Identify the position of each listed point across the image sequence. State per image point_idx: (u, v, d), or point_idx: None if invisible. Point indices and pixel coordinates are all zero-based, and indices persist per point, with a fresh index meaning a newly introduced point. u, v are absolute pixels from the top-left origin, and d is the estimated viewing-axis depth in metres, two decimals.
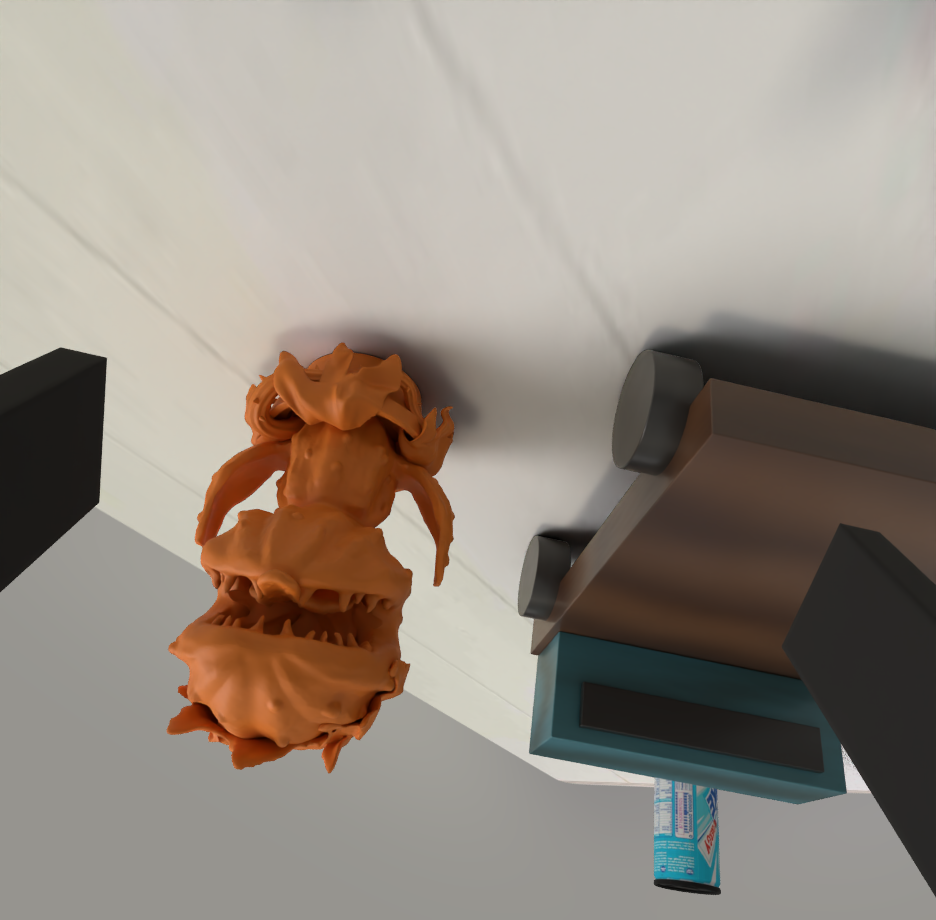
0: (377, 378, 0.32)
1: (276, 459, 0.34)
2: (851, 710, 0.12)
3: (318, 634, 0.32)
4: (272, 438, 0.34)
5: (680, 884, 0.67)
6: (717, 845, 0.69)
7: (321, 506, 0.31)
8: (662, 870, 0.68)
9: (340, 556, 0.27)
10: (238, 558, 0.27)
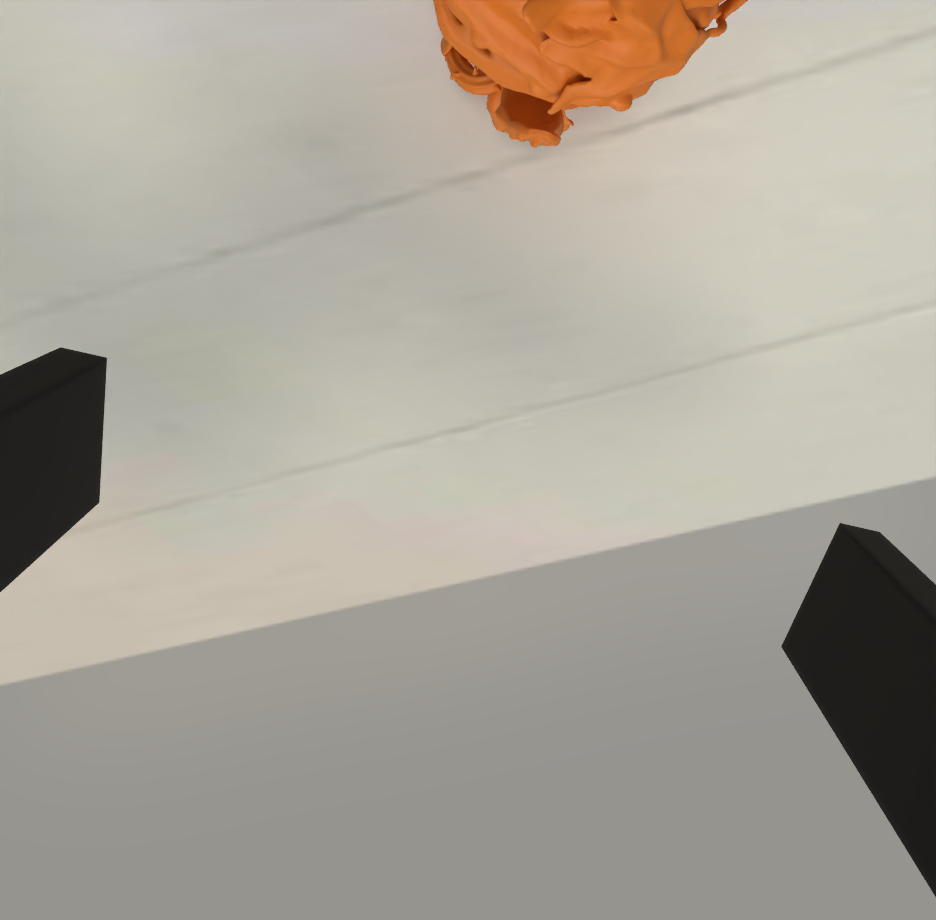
0: None
1: None
2: (851, 710, 0.12)
3: None
4: None
5: None
6: None
7: None
8: None
9: None
10: None
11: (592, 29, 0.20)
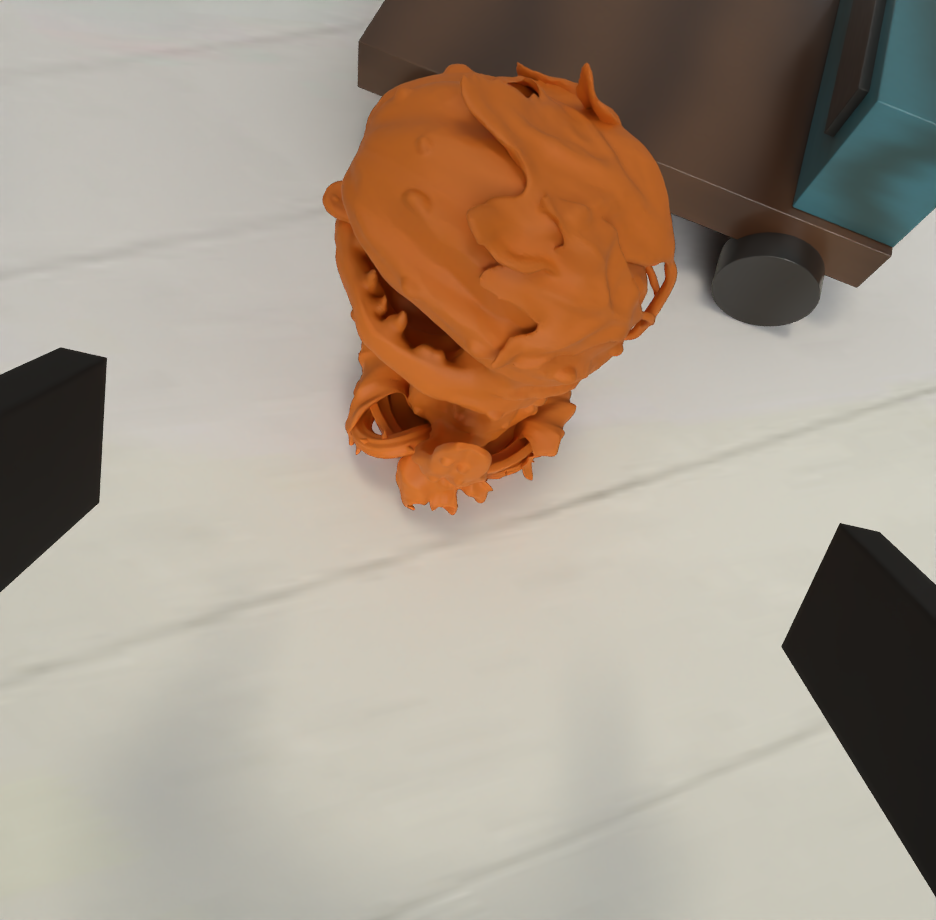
0: None
1: (448, 438, 0.29)
2: (851, 711, 0.12)
3: None
4: (418, 437, 0.29)
5: None
6: None
7: None
8: None
9: None
10: (338, 264, 0.23)
11: (538, 256, 0.18)
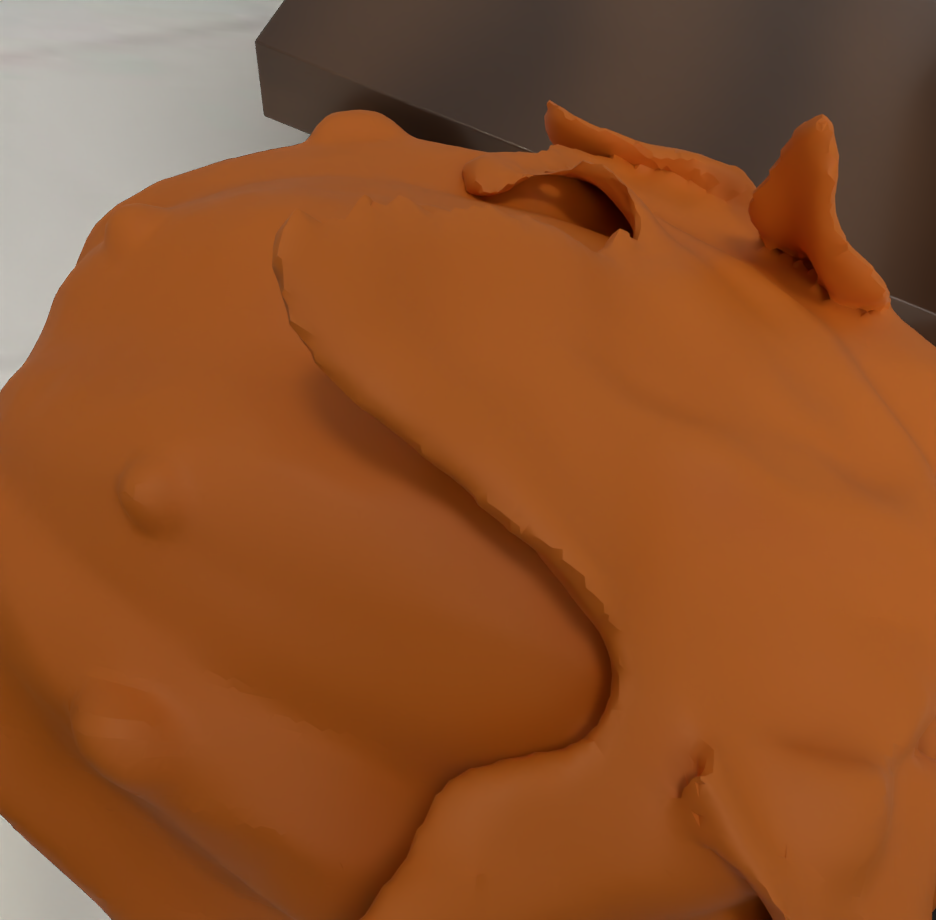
0: None
1: None
2: None
3: None
4: None
5: None
6: None
7: None
8: None
9: None
10: None
11: None
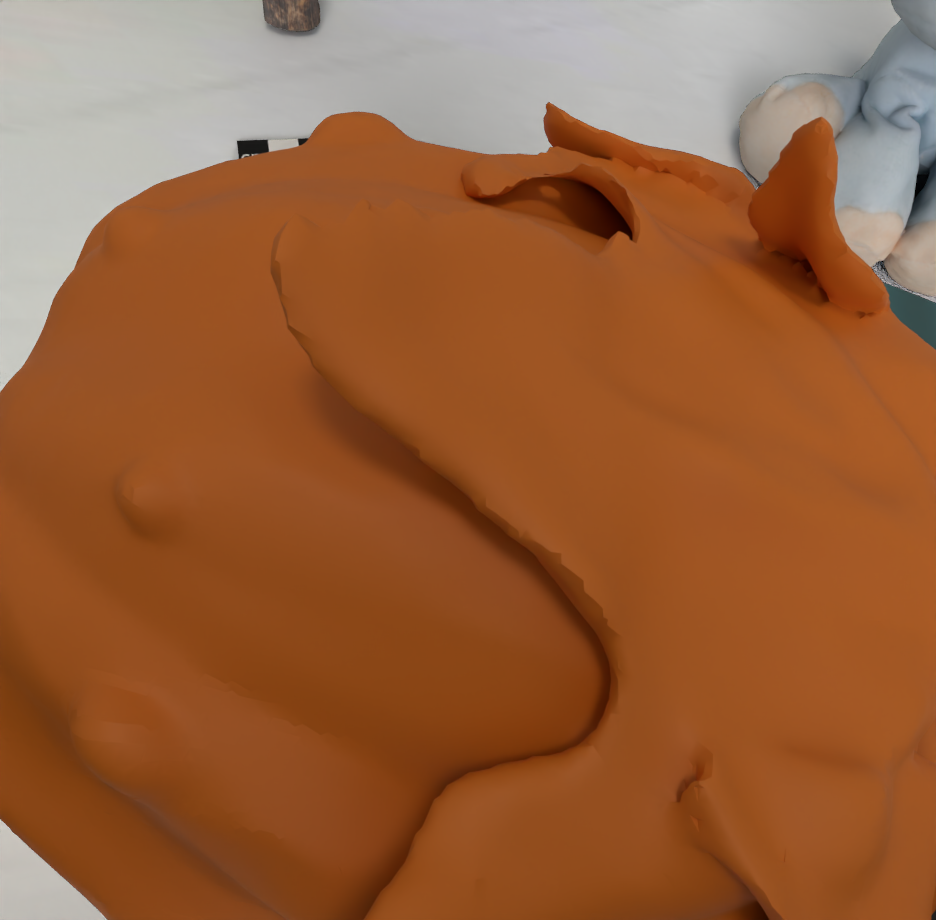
0: None
1: None
2: None
3: None
4: None
5: None
6: None
7: None
8: None
9: None
10: None
11: None
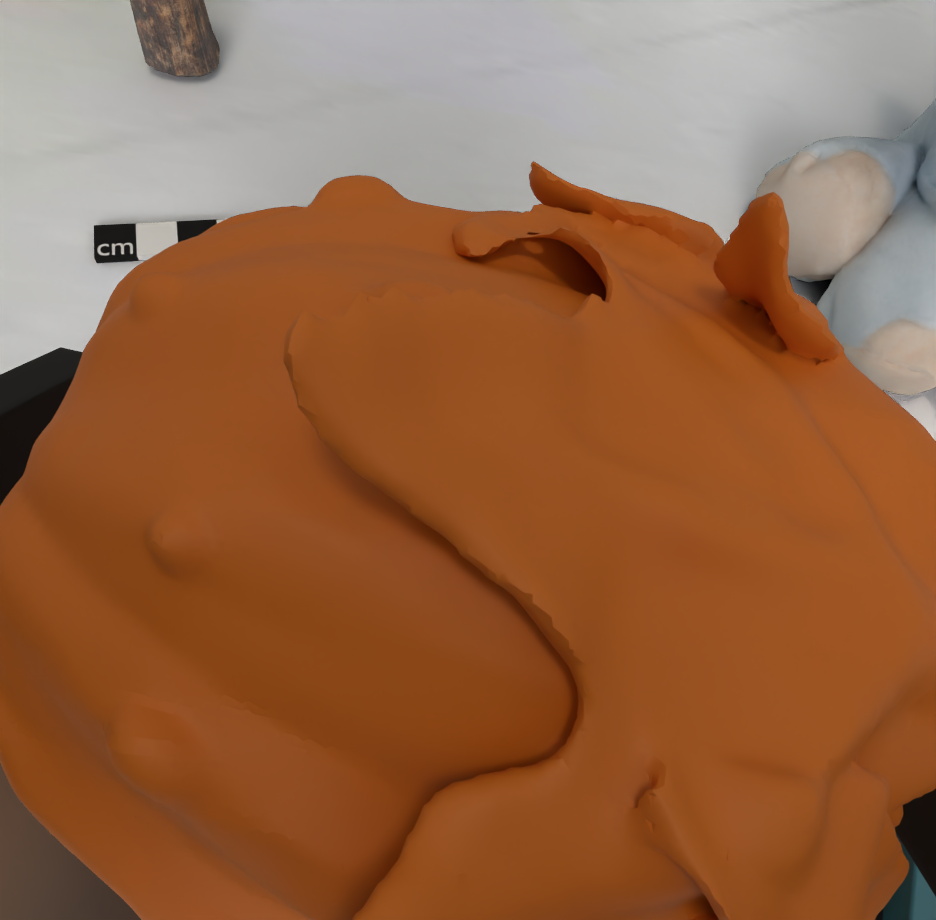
0: None
1: None
2: None
3: None
4: None
5: None
6: None
7: None
8: None
9: None
10: None
11: None
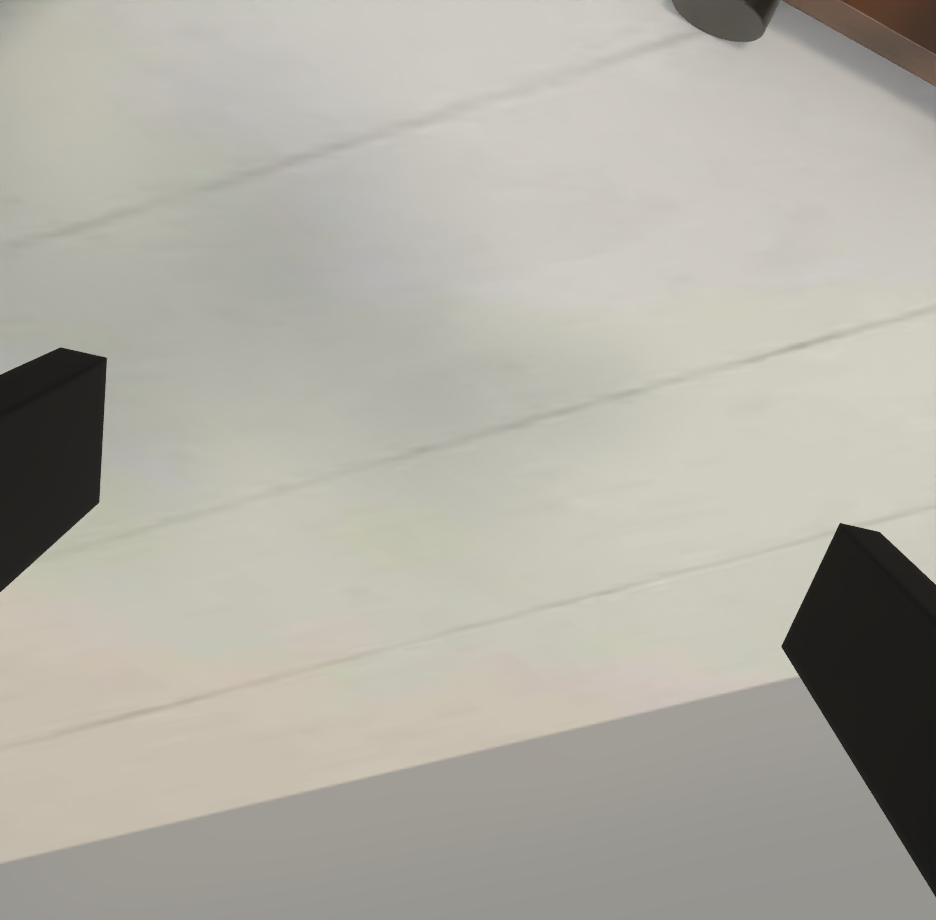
0: None
1: None
2: (851, 710, 0.12)
3: None
4: None
5: None
6: None
7: None
8: None
9: None
10: None
11: None
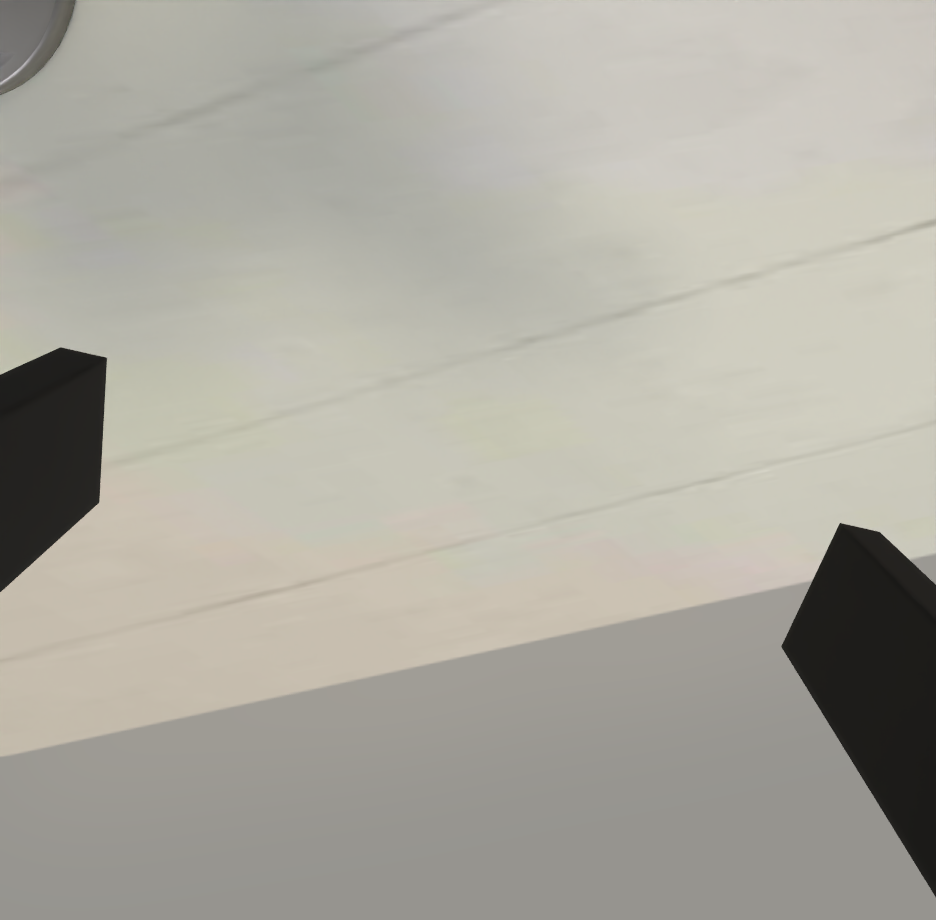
0: None
1: None
2: (850, 710, 0.12)
3: None
4: None
5: None
6: None
7: None
8: None
9: None
10: None
11: None
